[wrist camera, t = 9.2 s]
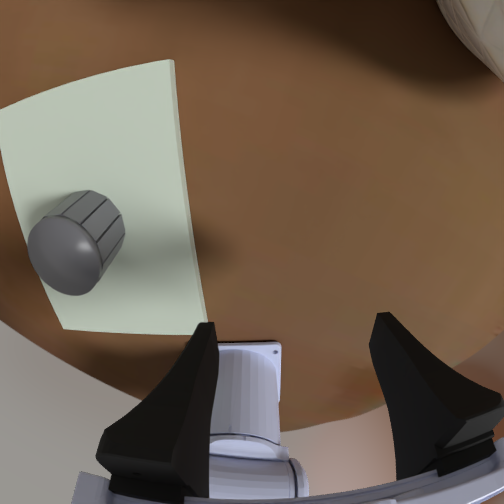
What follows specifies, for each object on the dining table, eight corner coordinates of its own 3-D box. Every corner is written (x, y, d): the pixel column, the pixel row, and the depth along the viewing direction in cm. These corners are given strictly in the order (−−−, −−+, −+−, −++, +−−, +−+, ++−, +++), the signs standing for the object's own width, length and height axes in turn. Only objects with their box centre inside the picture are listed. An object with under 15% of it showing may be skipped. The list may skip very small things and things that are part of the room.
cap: (132, 256, 21) (109, 296, 17) (73, 259, 21) (45, 295, 17) (115, 186, 18) (83, 215, 14) (53, 195, 19) (16, 223, 15)
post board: (208, 324, 26) (201, 368, 22) (68, 320, 26) (48, 355, 22) (174, 60, 16) (149, 54, 12) (4, 109, 16) (-38, 122, 12)
